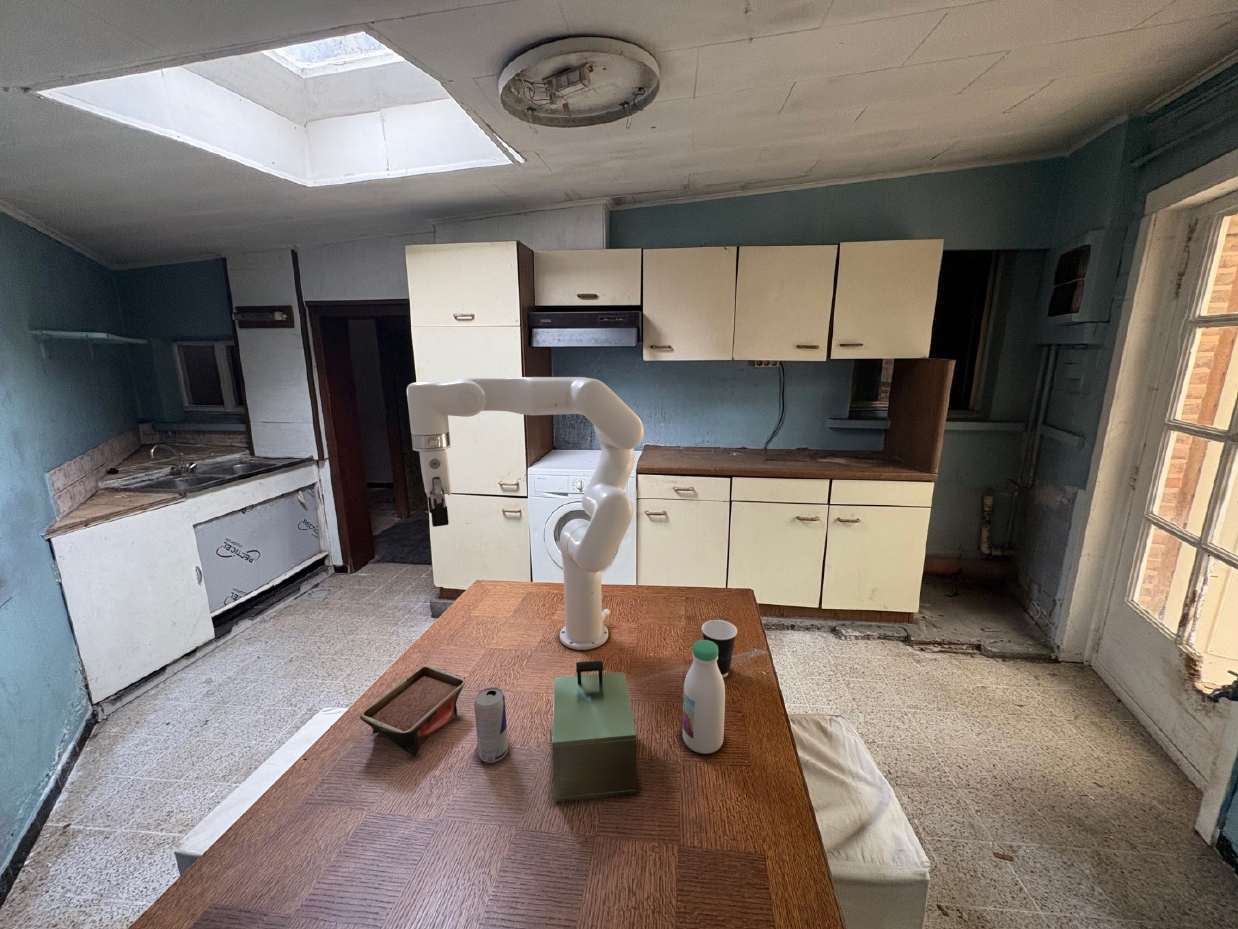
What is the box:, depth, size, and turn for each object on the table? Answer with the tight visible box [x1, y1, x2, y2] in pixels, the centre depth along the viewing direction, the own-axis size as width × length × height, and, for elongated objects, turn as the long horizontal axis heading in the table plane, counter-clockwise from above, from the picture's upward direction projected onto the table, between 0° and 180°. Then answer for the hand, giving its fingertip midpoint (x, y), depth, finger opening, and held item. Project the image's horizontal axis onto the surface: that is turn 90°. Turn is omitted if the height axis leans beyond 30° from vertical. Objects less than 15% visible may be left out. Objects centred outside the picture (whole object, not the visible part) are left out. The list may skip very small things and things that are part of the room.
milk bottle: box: [682, 639, 726, 755], centre depth 93 cm, size 8×8×20 cm
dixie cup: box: [701, 619, 738, 679], centre depth 114 cm, size 8×8×11 cm
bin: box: [552, 738, 638, 803], centre depth 90 cm, size 16×14×11 cm
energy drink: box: [473, 686, 509, 764], centre depth 92 cm, size 5×5×12 cm
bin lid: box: [551, 660, 637, 747], centre depth 88 cm, size 16×14×5 cm
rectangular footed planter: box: [359, 665, 466, 758], centre depth 99 cm, size 14×18×10 cm
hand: (438, 518), depth 109 cm, fingers open, 9 cm apart
